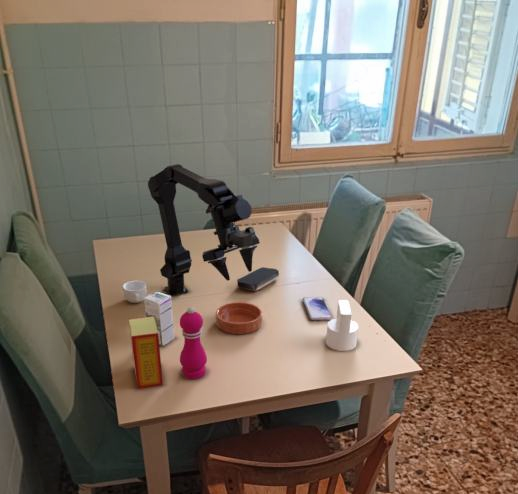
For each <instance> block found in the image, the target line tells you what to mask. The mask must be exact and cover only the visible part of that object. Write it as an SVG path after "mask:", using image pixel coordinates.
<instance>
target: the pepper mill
mask: <svg viewBox="0 0 518 494" xmlns="http://www.w3.org/2000/svg"><path fill="white" fill-rule="evenodd" d="M179 326H180V328H181V329H182V330H181V332H182V334H181V335H182V337H183V338H184V341H183V342H184V343H183V347H182V349H181V352H180V355H179V363H180V365H181V366H182V368H181V370H182V376H183V377H185V378H186V379H190V380H197V379H200V378H201V379H202V378H203V377H204V376H205V375H206V372H207V371H206V364H207V362H208V357H207V352H206V351H205V349H204V347H203V345H202V342H201V336H202V334H203V333H202V331H203V330H202V328H203V326H204V318H203V316H202V315H201V314H200V313H199V312H198V311H195V308H194V307H191V306H190V307H188V308H187V311H185V312H184V313H182V314H181V316H180V318H179Z"/></svg>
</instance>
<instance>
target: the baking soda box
mask: <svg viewBox="0 0 518 494" xmlns="http://www.w3.org/2000/svg"><path fill="white" fill-rule="evenodd" d="M128 326H129V333H130V342H131V350H132V360H133V367H134V373H135V382H136V386H137V389H145V388H152V387H160V386H163V384H164V381H163V369H162V360H161V350H160V345H159V337H158V331H157V327H156V323H155V319H154V316H150V317H146V316H142V317H133V318H128Z"/></svg>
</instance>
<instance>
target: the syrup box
mask: <svg viewBox="0 0 518 494" xmlns="http://www.w3.org/2000/svg"><path fill="white" fill-rule="evenodd" d="M172 302H173V301H172V295H170V294H166V293H163V292H160V291H157V290H156V291H154V292H151V293H149V294H148V295H146V297H145V298H144V300H143V303H144V310H145V317H150V316H154V319H155V323H156V327H157V331H158V337H159V346H162V347H164V346H166V345H167V344H169V343H170V342H172V341H173V340H174V339H175V337H176V336H175V329H174V327H175V326H174V315H173V303H172Z"/></svg>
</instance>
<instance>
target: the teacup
mask: <svg viewBox="0 0 518 494" xmlns="http://www.w3.org/2000/svg"><path fill="white" fill-rule="evenodd" d="M122 291H123V297H124V298H125V300H126V301H127V302H129V303H132V304H139V303H141V302H144V298H145V297H147V293H148V292H147V284H146V282H145V281H142V280H130V281H127V282H124V284H122Z"/></svg>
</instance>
